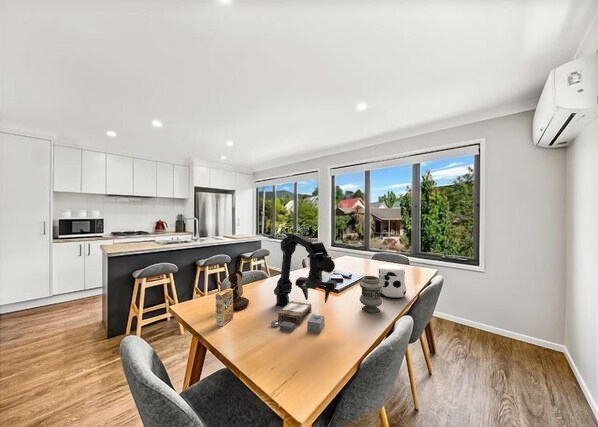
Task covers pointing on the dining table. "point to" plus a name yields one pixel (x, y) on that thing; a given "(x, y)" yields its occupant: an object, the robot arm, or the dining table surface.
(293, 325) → the rubber block
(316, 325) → the housing
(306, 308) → the walnut stand
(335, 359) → the dining table surface
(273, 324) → the steel nut
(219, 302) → the candy box
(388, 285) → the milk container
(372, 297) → the apothecary jar
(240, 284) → the brown wooden figurine
